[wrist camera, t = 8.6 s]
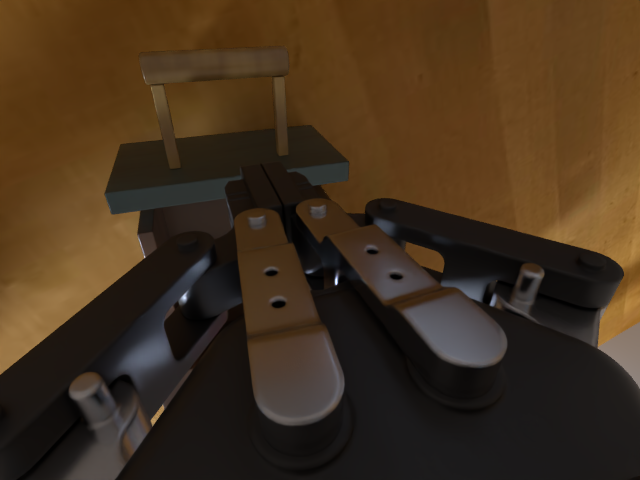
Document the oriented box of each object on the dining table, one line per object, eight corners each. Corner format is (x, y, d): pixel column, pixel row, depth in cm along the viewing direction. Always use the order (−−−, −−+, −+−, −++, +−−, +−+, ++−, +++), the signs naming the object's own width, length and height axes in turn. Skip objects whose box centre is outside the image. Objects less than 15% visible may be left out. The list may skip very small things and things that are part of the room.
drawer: (89, 43, 21) (58, 63, 15) (309, 34, 24) (353, 48, 18) (175, 330, 33) (176, 403, 27) (314, 299, 37) (341, 358, 31)
